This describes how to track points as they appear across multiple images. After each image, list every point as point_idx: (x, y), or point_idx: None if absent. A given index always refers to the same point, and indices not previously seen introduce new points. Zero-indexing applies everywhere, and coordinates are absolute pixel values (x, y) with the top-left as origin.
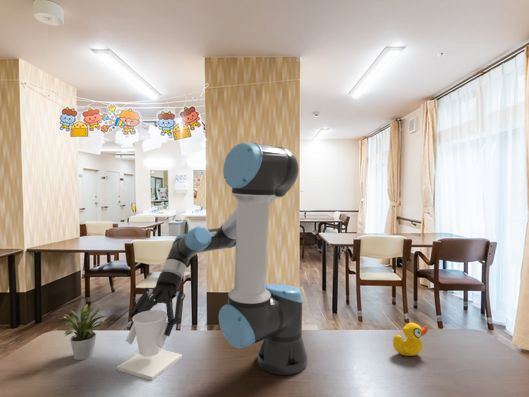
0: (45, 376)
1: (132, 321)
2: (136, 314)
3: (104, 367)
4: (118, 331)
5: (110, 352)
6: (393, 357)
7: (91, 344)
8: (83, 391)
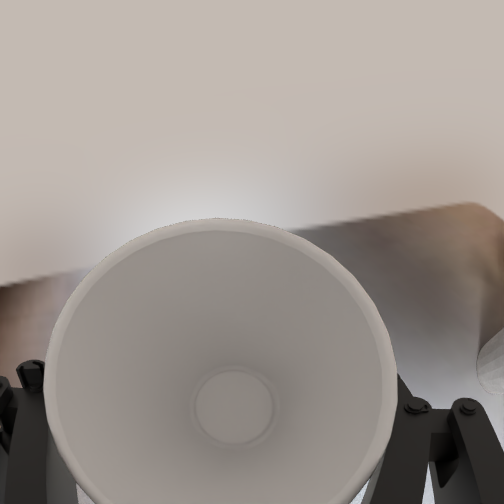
0: (479, 256)
1: (405, 393)
2: (391, 374)
3: (391, 337)
4: None
5: None
6: None
7: (501, 356)
8: (344, 225)
